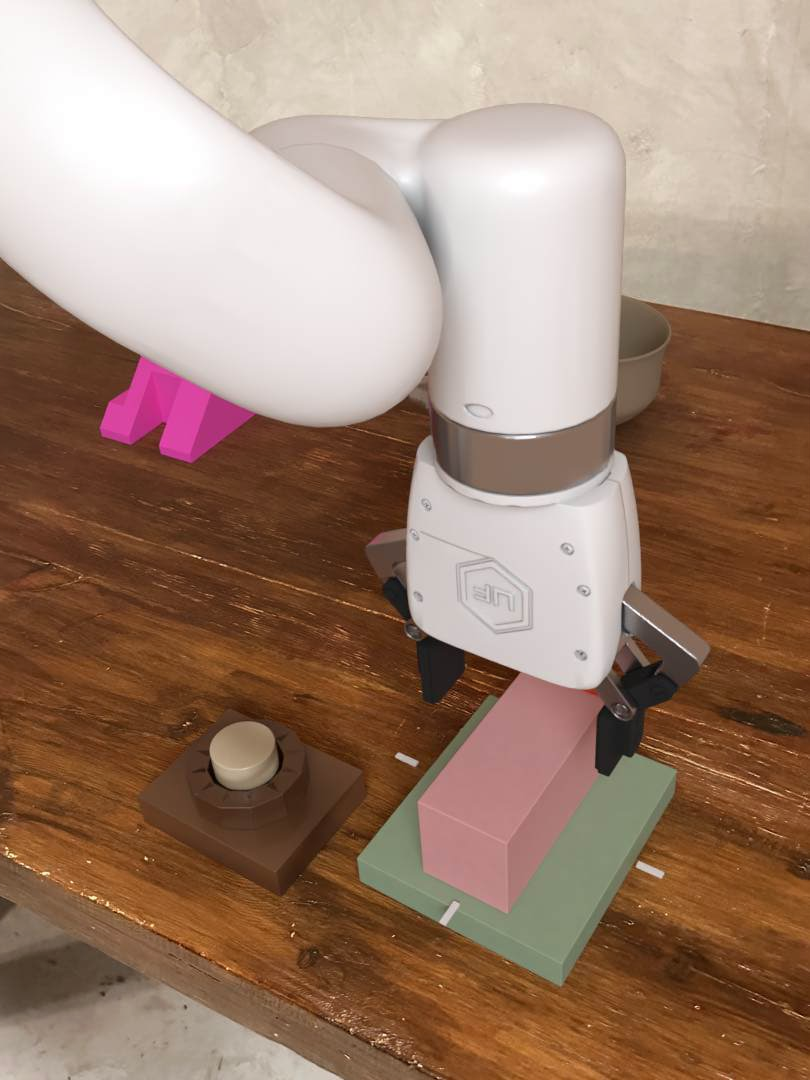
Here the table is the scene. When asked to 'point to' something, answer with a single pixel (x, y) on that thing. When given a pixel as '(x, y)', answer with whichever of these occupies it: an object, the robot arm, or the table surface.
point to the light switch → (255, 807)
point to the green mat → (557, 885)
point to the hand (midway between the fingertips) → (526, 719)
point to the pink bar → (510, 790)
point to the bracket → (171, 413)
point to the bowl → (639, 356)
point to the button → (244, 755)
